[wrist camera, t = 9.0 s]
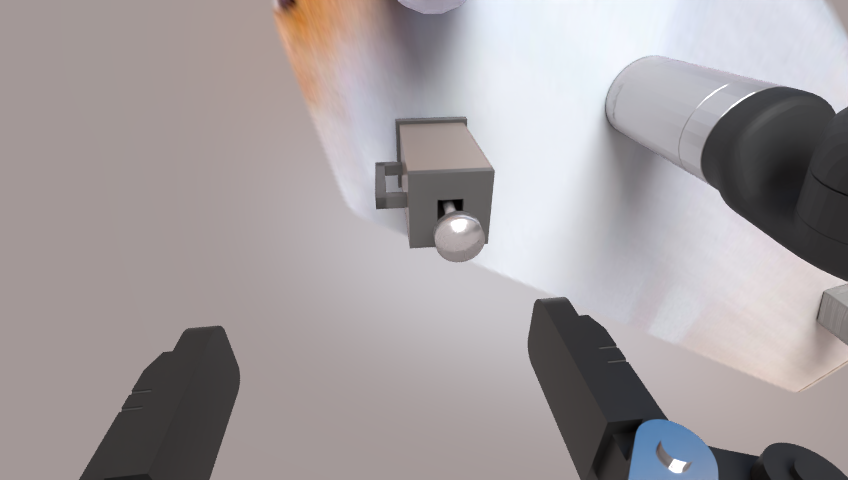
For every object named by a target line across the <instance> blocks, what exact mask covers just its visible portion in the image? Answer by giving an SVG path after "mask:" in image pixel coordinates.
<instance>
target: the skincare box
mask: <svg viewBox="0 0 848 480" xmlns="http://www.w3.org/2000/svg"><path fill="white" fill-rule="evenodd" d="M817 322H819V323H820V324H821V325H822V326H824V327H825V328H826V329H827V330H829V331H830V332H831V333H833V334H834V335H835V336H836V337H838V338H839V339H840V340H841V341H843V342H844V343H845V344H846V345H848V284H846V285H843V286H839V287H836V288H832V289H829V290H825V291H824V294H823V298H822V303H821V307H820V312H819V316H818V320H817Z"/></svg>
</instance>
